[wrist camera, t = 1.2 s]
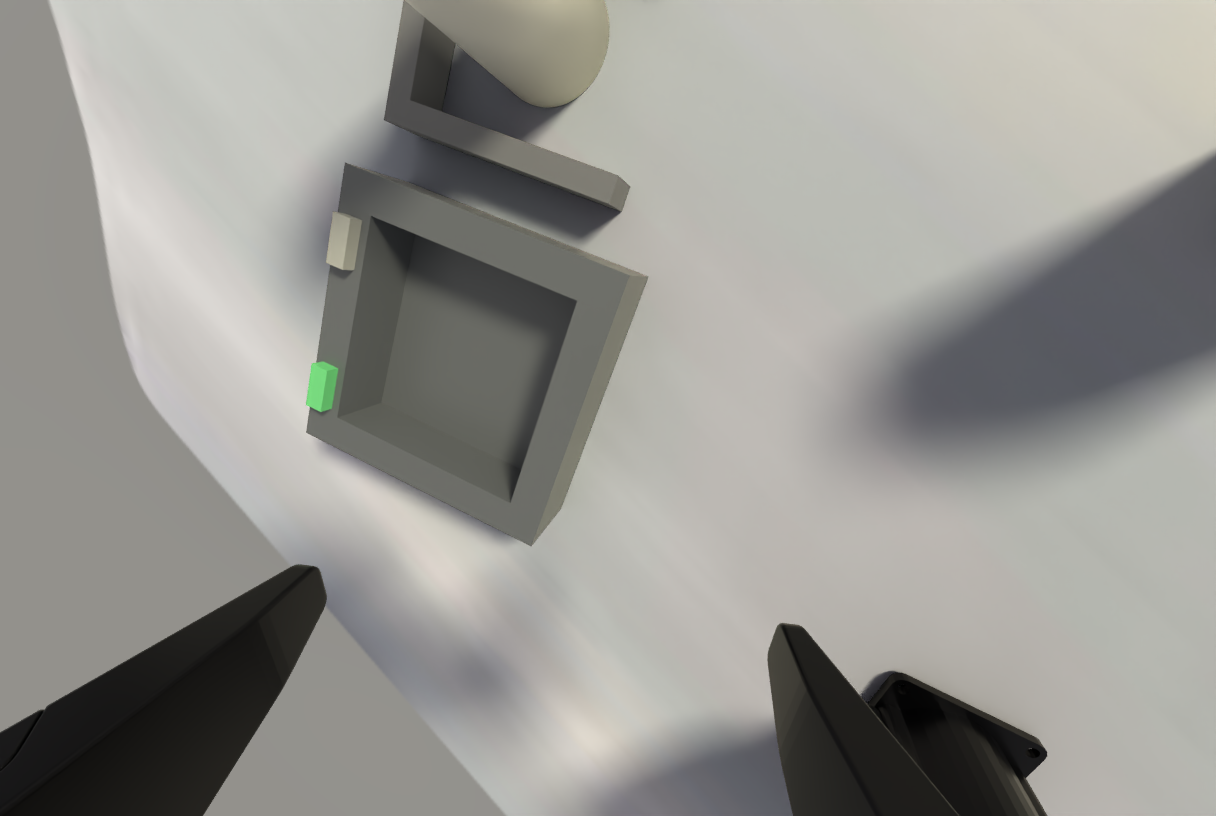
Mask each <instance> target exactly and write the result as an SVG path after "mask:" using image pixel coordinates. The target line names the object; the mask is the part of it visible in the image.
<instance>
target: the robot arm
mask: <svg viewBox="0 0 1216 816" xmlns="http://www.w3.org/2000/svg"><path fill="white" fill-rule="evenodd" d="M326 600H327V594H326V590H325V587H324V583H323V579H322V576H321V572H320V570H319V569H318V568H317V567H315V566H309V565H294V566H292V567H290V568H288V569H286V570H284V571H283V572H281V573H279V574H278V575H276V576H274V577H272V578H270V579H269V580H267V581H265V582H263V583H262V584H260V585H258V586H256V587H255V588H253V589H251V590H249V591H248V592H246V593H244V594H242V595H241V596H239V597H237V598H235V599H234V600H232V601H230V602H228V603H227V604H225V605H223V606H221V607H220V608H218V609H216V610H214V611H213V612H211V613H209V614H207V615H206V616H204V617H202V618H201V619H199V620H197V621H195V622H193V623H192V624H190V625H188V626H186V627H185V628H183V629H181V630H179V631H177V632H176V633H174V634H172V635H170V636H169V637H167V638H165V639H164V640H162V641H160V642H158V643H156V644H155V645H153V646H151V647H149V648H148V649H146V650H144V651H142V652H141V653H139V654H137V655H135V656H134V657H132V658H130V659H128V660H127V661H125V662H123V663H121V664H120V665H118V666H116V667H114V668H113V669H111V670H109V671H107V672H106V673H104V674H102V675H100V676H99V677H97V678H95V679H93V680H92V681H90V682H88V683H87V684H85V685H83V686H81V687H79V688H78V689H76V690H74V691H72V692H70V693H69V694H67V695H65V696H64V697H62V698H60V699H58V700H56V701H55V702H53V703H51V704H49V705H48V706H47V707H46V709H45V710H39V711H37V712H35V713H33V714H32V715H30V716H28V717H26V718H25V719H23V720H21V721H20V722H18V723H16V724H14V725H12V726H11V727H9V728H7V729H5V730H4V731H2V732H0V816H203V815H204V813H205V812H206V810H207V808H208V807H209V805H210V804H211V802H212V800H213V799H214V797H215V796H216V794H217V793H218V791H219V789H220V788H221V786H222V785H223V783H224V781H225V780H226V778H227V777H228V775H229V774H230V772H231V770H232V769H233V767H234V766H235V764H236V762H237V761H238V759H239V758H240V756H241V754H242V753H243V751H244V750H245V748H246V746H247V745H248V743H249V742H250V740H251V739H252V737H253V735H254V734H255V732H256V731H257V729H258V727H259V726H260V724H261V723H262V721H263V719H264V718H265V716H266V715H267V713H268V712H269V710H270V708H271V707H272V705H273V704H274V702H275V700H276V699H277V697H278V695H279V694H280V692H281V690H282V689H283V687H284V685H285V683H286V682H287V680H288V678H289V676H290V674H291V672H292V670H293V669H294V667H295V665H296V663H297V661H298V658H299V657H300V655H301V653H302V651H303V649H304V647H305V645H306V643H307V641H308V639H309V637H310V635H311V633H312V631H313V629H314V627H315V625H316V623H317V621H318V619H319V617H320V615H321V614H322V612H323V610H324V607H325V604H326ZM768 669H769V677H770V685H771V693H772V701H773V709H774V717H775V725H776V734H777V741H778V748H779V754H780V759H781V764H782V769H783V773H784V778H785V782H786V786H787V791H788V795H789V800H790V804H791V809H792V813H793V816H1047V814H1046V812H1045V811H1044V809H1043V807H1042V806H1041V804H1040V802H1039V800H1038V799H1037V797H1036V795H1035V794H1034V792H1033V790H1032V788H1031V787H1030V785H1029V783H1028V782H1027V780H1026V777H1027V776H1028V775H1029V774H1030V773H1031V772H1033V771H1034V770H1035V769H1036V768H1037V767H1038V766H1039V765H1040V764H1041V763H1042V762H1043V761H1044V760H1045V759H1046V757H1047V751H1046V750H1045V748H1044V747H1043V745H1042V744H1041V742H1040V741H1039V740H1038V739H1037V738H1036V737H1034V736H1032V735H1030V734H1028V733H1026V732H1024V731H1022V730H1020V729H1017V728H1015V727H1013V726H1011V725H1009V724H1007V723H1005V722H1003V721H1001V720H999V719H997V718H995V717H993V716H991V715H989V714H987V713H985V712H983V711H980V710H978V709H976V708H974V707H972V706H970V705H968V704H966V703H964V702H962V701H960V700H958V699H956V698H954V697H952V696H950V695H948V694H946V693H943V692H941V691H939V690H937V689H935V688H933V687H931V686H929V685H927V684H925V683H923V682H921V681H919V680H917V679H915V678H913V677H911V676H909V675H906V674H903V673H895V674H892V675H891V676H889V678H888V679H887V680H886V681H885V683H884V684H883V685H882V687H881V688H880V689H879V690H878V692H877V693H876V694H875V695H874V697H873V698H872V699H871V701H870V702H869V703H868V704H866V702H865V701H864V700H863V699H862V698H861V696H860V695H859V694H858V693H857V692H856V690H855V689H854V688H853V687H852V685H851V684H850V683H849V682H848V681H847V679H846V678H845V677H844V676H843V675H842V673H841V672H840V671H839V670H838V669H837V667H836V666H835V665H834V664H833V663H832V661H831V660H830V659H829V658H828V657H827V655H826V654H825V653H824V652H823V651H822V649H821V648H820V647H819V646H818V644H817V643H816V642H815V641H814V640H813V638H812V637H811V636H810V635H809V634H808V632H807V631H806V630H805V629H804V628H803V627H802V626H800V625H795V624H787V623H780V624H779V625H778V626H777V628H776V631H775V634H774V636H773V639H772V642H771V645H770V647H769V651H768ZM899 685H905V686H904V687H898V686H899ZM1029 748H1032V749H1029Z"/></svg>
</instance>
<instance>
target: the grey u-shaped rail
mask: <svg viewBox="0 0 1216 816" xmlns="http://www.w3.org/2000/svg"><path fill="white" fill-rule="evenodd" d="M454 47H455V43H454V42H453V41H452V40H451V39H450V38H448V37H447V36H446V35H445V34H444V33H443V32H441V31H440V30H439V29H438V28H437V27H436V26H434V25H433V24H432V23H431V22H430V21H429V20H427V19H426V18H425V17H424V16H423V15H421V14H420V13H419V12H418V11H417V10H416V9H414V8H413V7H412V6H411V5H410V4H409V3H407V2H406V1H405V0H404V2H403V8H402V14H401V20H400V26H399V32H398V38H397V44H396V50H395V56H394V62H393V68H392V74H391V81H390V87H389V93H388V99H387V105H386V111H385V117H384V120H385V121H388V122H390V123H392V124H394V125H396V126H398V127H401V128H403V129H405V130H407V131H409V132H411V133H413V134H416V135H418V136H421V137H424V138H426V139H429V140H432V141H434V142H437V143H440V144H442V145H445V146H448V147H450V148H453V149H456V150H458V151H461V152H464V153H466V154H469V155H472V156H474V157H477V158H480V159H482V160H485V161H488V162H490V163H493V164H496V165H498V166H501V167H504V168H506V169H509V170H512V171H514V172H517V173H520V174H522V175H525V176H528V177H530V178H533V179H536V180H538V181H541V182H544V183H546V184H549V185H552V186H554V187H557V188H560V189H562V190H565V191H568V192H570V193H573V194H576V195H578V196H581V197H584V198H586V199H589V200H592V201H594V202H597V203H600V204H602V205H605V206H608V207H610V208H613V209H616V210H618V211H621V212H622V209H623V206H624V203H625V200H626V197H627V195H628V192H629V189H630V186H629V185H628V184H627V183H626V182H625V181H624V180H623V179H621V178H620V177H619V176H618V175H615V174H612V173H609V172H607V171H604V170H601V169H598V168H596V167H593V166H590V165H587V164H585V163H582V162H579V161H576V160H574V159H571V158H568V157H565V156H563V155H560V154H557V153H554V152H552V151H549V150H546V149H543V148H541V147H538V146H535V145H532V144H530V143H527V142H524V141H521V140H519V139H516V138H513V137H510V136H507V135H505V134H502V133H499V132H496V131H494V130H491V129H488V128H485V127H483V126H480V125H477V124H474V123H472V122H469V121H466V120H463V119H461V118H458V117H455V116H452V115H450V114H447V113H444V112H442V107H443V102H444V97H445V92H446V87H447V82H448V77H449V72H450V67H451V62H452V57H453V52H454Z"/></svg>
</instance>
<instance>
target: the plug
mask: <svg viewBox="0 0 1216 816" xmlns="http://www.w3.org/2000/svg"><path fill="white" fill-rule="evenodd" d="M405 1H406V2H407V3H409V4H410V5H411V6H412V7H413V8H414V9H416V10H417V11H418V12H419V13H420V14H421V15H423V16H424V17H425V18H426V19H427V20H429V21H430V22H431V23H432V24H433V25H434V26H436V27H437V28H438V29H439V30H440V31H441V32H443V33H444V34H445V35H446V36H447V37H448V38H450V39H451V40H452V41H453V42H454V43H456V44H457V45H458V46H459V47H460V48H461V49H463V50H464V51H465V52H466V53H467V54H468V55H470V56H471V57H472V58H473V59H474V60H475V61H477V62H478V63H479V64H480V65H481V66H483V67H484V68H485V69H486V70H487V71H488V72H490V73H491V74H492V75H493V76H494V77H495V78H497V79H498V80H499V81H500V82H501V83H503V84H504V85H505V86H506V87H507V88H508V89H510V90H511V91H512V92H513V93H514V94H515V95H517V96H518V97H519V98H520V99H522V100H523V101H525V102H527V103H529V104H531V105H534V106H538V107H545V108H549V107H557V106H561V105H564V104H567V103H569V102H571V101H572V100H574V99H576V98H577V97H578V96H580V95H581V94H582V93H583V92H584V91H585V90H586V89H587V88H588V87H589V86H590V85H591V83H592V82H593V81H594V79H595V78H596V76H597V75H598V73H599V71H600V69H601V67H602V65H603V62H604V59H605V56H606V52H607V48H608V42H609V17H608V12H607V7H606V4H605V1H604V0H405Z"/></svg>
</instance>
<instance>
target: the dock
mask: <svg viewBox="0 0 1216 816" xmlns="http://www.w3.org/2000/svg"><path fill="white" fill-rule="evenodd" d="M326 263H328V264H330V271H329V278H328V285H327V292H326V299H325V306H324V313H323V320H322V327H321V334H320V341H319V348H318V354H317V361H316V363H312V365H311V373H310V380H309V387H308V394H307V401H306V405H307V406H309V407H310V410H309V417H308V424H307V431H306V433H308V434H310V435H312V436H314V437H316V438H318V439H320V440H322V441H324V442H326V443H328V444H330V445H332V446H334V447H336V448H338V449H340V450H342V451H344V452H346V453H348V454H350V455H352V456H354V457H356V458H358V459H360V460H361V461H363V462H365V463H367V464H369V465H371V466H373V467H375V468H377V469H379V470H381V471H383V472H385V473H387V474H389V475H391V476H393V477H395V478H397V479H399V480H401V481H403V482H405V483H407V484H409V485H411V486H413V487H415V488H417V489H419V490H421V491H423V492H425V493H427V494H429V495H431V496H433V497H435V498H437V499H439V500H441V501H443V502H445V503H447V504H449V505H450V506H452V507H454V508H456V509H458V510H460V511H462V512H464V513H466V514H468V515H470V516H472V517H474V518H476V519H478V520H480V521H482V522H484V523H486V524H488V525H490V526H492V527H494V528H496V529H498V530H500V531H502V532H504V533H506V534H508V535H510V536H512V537H514V538H516V539H518V540H520V541H522V542H524V543H526V544H528V545H530V546H532V545H533V544H534V542H535V541H536V540H537V539H538V537H539V536H540V535H541V533H542V532H543V531H544V530H545V528H546V527H547V526H548V525H549V523H550V522H551V521H552V519H553V518H554V517H555V516H556V514H557V513H558V512H559V511H560V509H561V507H562V505H563V502H564V499H565V497H566V494H567V491H568V489H569V486H570V483H571V481H572V478H573V475H574V473H575V470H576V467H577V465H578V462H579V460H580V457H581V454H582V452H583V449H584V446H585V444H586V441H587V438H588V436H589V433H590V430H591V428H592V425H593V422H594V420H595V417H596V414H597V412H598V409H599V406H600V404H601V401H602V398H603V396H604V393H605V391H606V388H607V385H608V383H609V380H610V377H611V375H612V372H613V369H614V367H615V364H616V361H617V359H618V356H619V353H620V351H621V348H622V345H623V343H624V340H625V337H626V335H627V332H628V330H629V327H630V324H631V322H632V319H633V316H634V314H635V311H636V308H637V306H638V303H639V300H640V298H641V295H642V292H643V290H644V287H645V284H646V282H647V279H648V276H645V275H643V274H640V273H638V272H635V271H632V270H630V269H627V268H625V267H622V266H620V265H617V264H615V263H612V262H610V261H607V260H605V259H602V258H599V257H597V256H594V255H592V254H589V253H587V252H584V251H582V250H579V249H577V248H574V247H571V246H569V245H566V244H564V243H561V242H559V241H556V240H554V239H551V238H549V237H546V236H544V235H541V234H538V233H536V232H533V231H531V230H528V229H526V228H523V227H521V226H518V225H516V224H513V223H511V222H508V221H505V220H503V219H500V218H498V217H495V216H493V215H490V214H488V213H485V212H483V211H480V210H477V209H475V208H472V207H470V206H467V205H465V204H462V203H460V202H457V201H455V200H452V199H450V198H447V197H444V196H442V195H439V194H437V193H434V192H432V191H429V190H427V189H424V188H422V187H419V186H417V185H414V184H411V183H409V182H406V181H403V180H400V179H396V178H393V177H390V176H387V175H383V174H380V173H377V172H374V171H370V170H367V169H364V168H361V167H357V166H354V165H351V164H348V163H345V167H344V174H343V181H342V187H341V194H340V201H339V208H338V212H334V211H333V216H332V223H331V230H330V237H329V244H328V251H327V259H326Z"/></svg>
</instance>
